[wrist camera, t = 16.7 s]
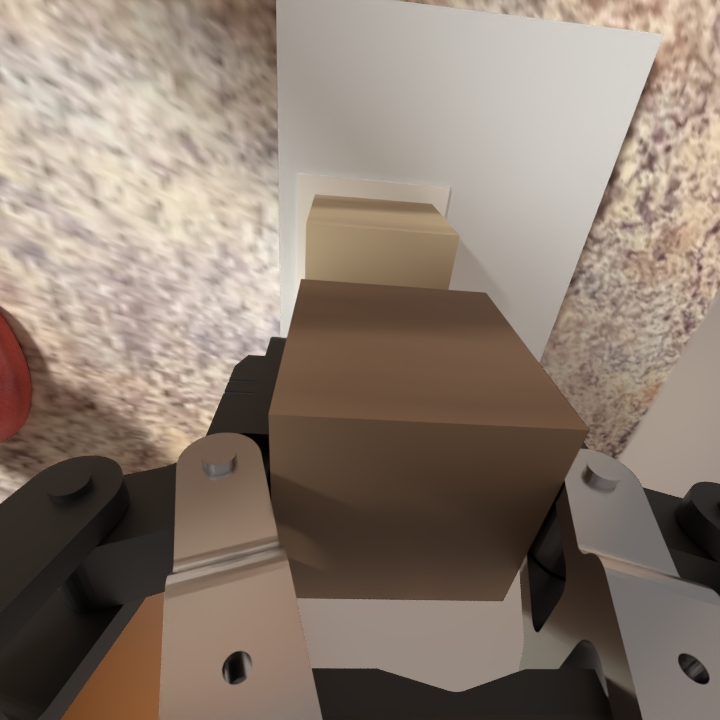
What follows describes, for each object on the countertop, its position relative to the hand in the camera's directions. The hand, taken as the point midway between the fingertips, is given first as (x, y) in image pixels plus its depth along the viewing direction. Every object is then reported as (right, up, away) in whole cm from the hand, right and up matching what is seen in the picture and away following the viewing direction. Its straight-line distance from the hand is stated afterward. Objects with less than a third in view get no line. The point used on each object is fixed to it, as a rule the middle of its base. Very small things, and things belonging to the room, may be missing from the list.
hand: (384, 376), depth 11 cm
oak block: (0, +5, +8) cm, 10 cm away
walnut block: (0, 0, 0) cm, 1 cm away
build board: (+3, +6, +10) cm, 11 cm away
